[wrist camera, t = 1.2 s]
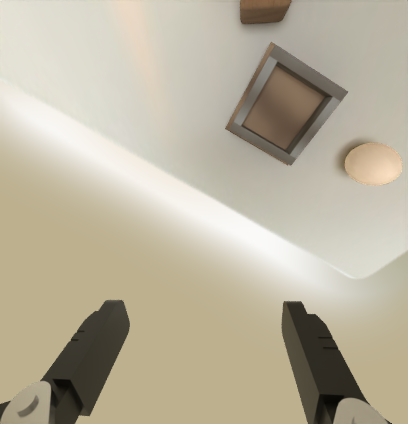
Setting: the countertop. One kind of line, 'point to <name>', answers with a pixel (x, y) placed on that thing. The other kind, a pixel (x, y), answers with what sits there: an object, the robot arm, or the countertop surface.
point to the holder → (284, 105)
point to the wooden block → (263, 10)
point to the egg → (373, 164)
